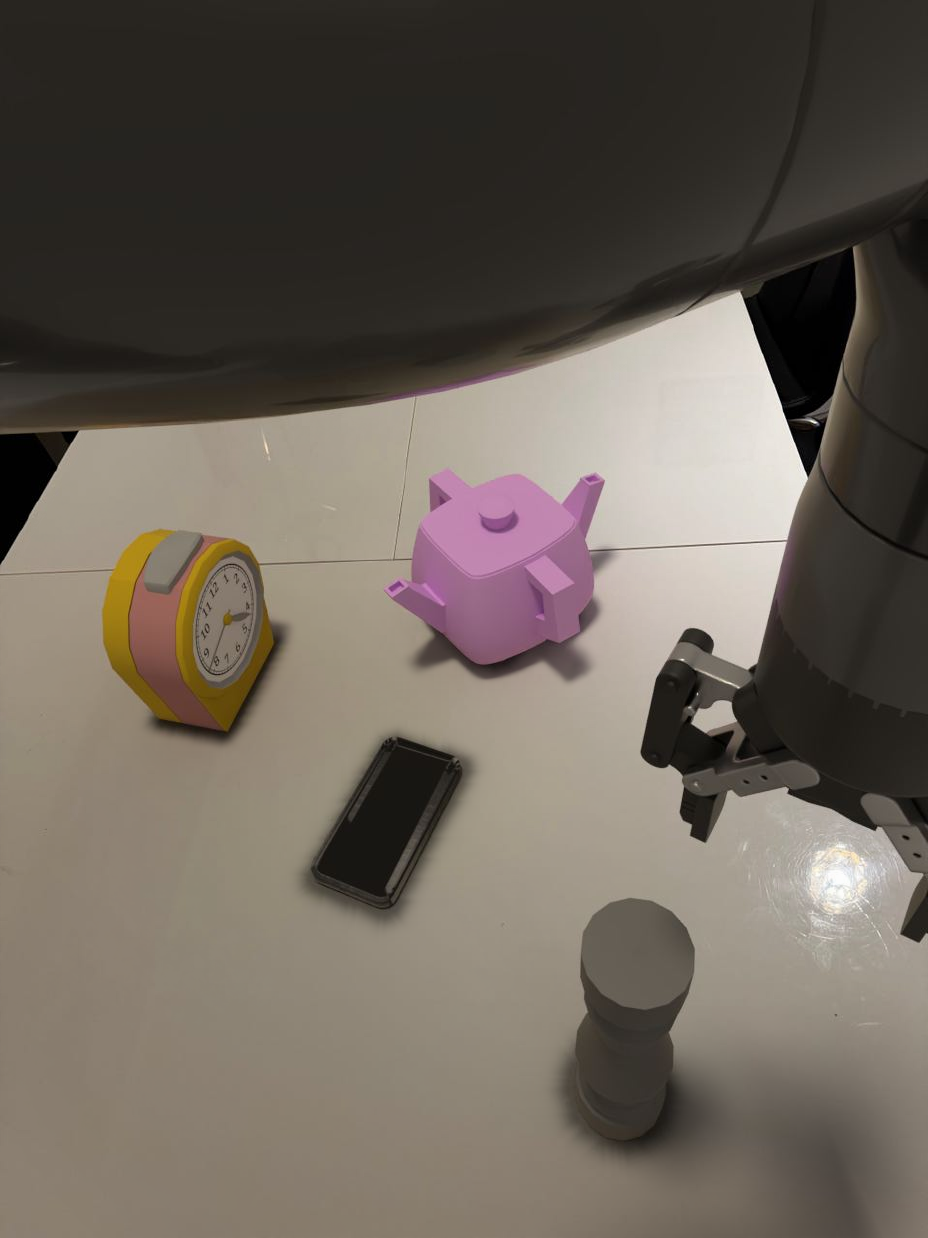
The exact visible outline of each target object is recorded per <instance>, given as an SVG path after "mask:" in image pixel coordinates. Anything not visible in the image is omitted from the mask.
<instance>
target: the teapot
mask: <svg viewBox="0 0 928 1238" xmlns="http://www.w3.org/2000/svg"><path fill="white" fill-rule="evenodd" d="M605 482H606V480H605V479H604V478H603V477H602V476H601V475H600V474H598V473H597V472H593V473H590V474H586V475H584V476H581V477H579V481H578V482H577V483H576V484H575V486H574V488H572V490H571V491H570V492H569V494H568V495H567V497H566V498H565V499H564V500H563V502H562V503H560V502H559V501H557V499H555V498H554V497H553V496H552V495H550V494H549V493H548V492H547V491H546V490H544V489H543V488H542V487H541V486H540V485H538V484H537V483H536V482H534V481H533V480H532V479H530V478H528V477H527V476H526V475H523V474H521V473H511V474H505V475H502V476H499V477H496V478H494V479H491V480H488V481H485V482H483V483H481V484H478V485H476V486H474V487H472V486H470V485H469V484H467V483H466V481H464V480H463V478H462V479H461V478H460V477H459V476H458V474H456V473H455V472H454V471H452V470H451V469H450V468H449V467H447V468H446V469H443V470H441V471H440V472H438V473H436V474H434V475H432V476H430V477H429V478H428V488H429V489H428V491H429V511H430V512H429V513H428V514H427V515H425V516H424V517H423V518H422V519H421V521H420V522H419V524H418V528H417V532H416V536H415V540H414V544H413V549H412V555H411V567H410V570H411V571H410V573H411V574H410V577H411V578H410V579H411V581H410V580H406V579H404V578H403V577H402V576H399V577H397V578H396V579H395V580H393V581H391V582H390V583H389V584H387V585H386V586H384V587H383V591H384V593H386V595H387V596H388V597H390V599H391V600H392V601H393V602H395V603H396V604H398V605H399V606H400V607H402V608H404V609H405V610H407V611H408V612H409V613H412V615H414V616H416V617H417V618H419V619H420V620H422V621H423V622H425V623H426V624H428V625H429V626H431V627H432V628H433V629H435V630H437V631H438V632H440V633H441V634H443V635H444V636H445V637H446V638H447V639H448V641H449V642H451V643H452V644H453V646H455V648H457V649H458V650H459V651H460V652H461V653H462V654H463V655H464V656H465V657H466V658H468V659H469V660H470V661H472V662H473V663H475V664H477V665H490V664H495V663H501V662H504V661H505V660H506V659H507V660H508V659H510V658H513V657H514V656H516V655H519V654H521V653H524V652H526V651H528V650H530V649H532V648H534V647H537V646H538V645H540V644H542V643H543V642H545V641H546V640H549V641H551V642H555V643H557V644H560V643H562V642H564V641H565V640H568V639H569V638H571V637H573V636H575V635H577V634H579V633H580V632H581V627H580V620H579V619H580V617H579V616H580V614H581V613H582V612H583V611H584V609H585V608H586V607H587V606H588V604H589V602H590V601H591V599H592V597H593V594H594V590H595V575H594V567H593V566H594V565H593V561H592V557H591V552H590V549H589V546H588V544H587V541H586V539H587V536H588V533H589V530H590V527H591V524H592V520H593V518H594V515H595V512H596V509H597V506H598V503H599V500H600V497H601V494H602V491H603V489H604V486H605Z"/></svg>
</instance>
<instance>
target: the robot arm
mask: <svg viewBox="0 0 928 1238" xmlns="http://www.w3.org/2000/svg"><path fill="white" fill-rule="evenodd" d="M848 249H852V253H853V264H854V275H855V276H854V277H855V292H856V293H855V311H854V315H853V319H852V322H851V326H850V330H849V333H848V337H847V342H846V346H845V350H844V352H843V357H842V359H841V362H840V367H839V371H838V375H837V379H836V382H835V387H834V390H833V395H832V399H831V403H830V407H829V409H828V410H829V411H828V414H827V419H826V422H825V427H824V431H823V435H822V438H821V443H820V447H819V449H818V453H817V456H816V459H815V461H814V464H813V465H812V469H811V471H810V473H809V475H808V478H807V480H806V482H805V483H804V486H803V488H802V491H801V493H800V495H799V498H798V501H797V502H796V506H795V508H794V513H793V515H792V519H791V522H790V527H789V530H788V535H787V538H786V543H785V547H784V550H783V554H782V560H781V563H780V568H779V571H778V576H777V579H776V583H775V588H774V593H773V596H772V600H771V604H770V609H769V613H768V618H767V622H766V626H765V628H764V629H765V631H764V634H763V637H762V642H761V646H760V650H759V654H758V657H757V662H756V663H755V664H753V665H752V666H750V667H749V668H748V669H747V668H744V667H742V666H740V665H737V664H735V663H733V662H730V661H728V660H725V659H724V658H720V657H718V656H716V655H713V651H714V647H715V642H714V639H713V638H712V636H711V635H710V634H708V632H706V631H704V630H703V629H700V628H696V627H688V628H686V629H685V630H683V632H682V634H681V635H680V637H679V639H678V640H677V642H676V644H675V645H674V647H673V649H672V651H671V652H670V654H669V656H668V657H667V659H666V661H665V662H664V664H663V666H662V668H661V669H660V671H659V673H658V674H657V675H656V678H655V681H654V686H653V690H652V691H653V692H652V694H651V699H650V705H649V709H648V714H647V718H646V723H645V727H644V733H643V737H642V741H641V747H640V751H639V752H640V753H639V754H640V756H641V758H642V759H643V760H644V761H645V762H646V763H647V764H649V765H650V766H652V767H654V768H657V769H666V768H668V767H669V766H670V767H672V768H674V769H675V770H676V771H678V772H679V773H680V775H681V776H682V778H681V783H682V785H683V790H682V795H681V802H680V805H679V806H680V807H679V815H680V817H681V818H680V819H682V821H683V822H685V823H687V824H689V825H691V828H690V832H689V837H691V838H694V839H695V840H697V841H700V842H701V843H704V844H707V842H708V840H709V838H710V836H711V834H712V832H713V830H714V829H715V827H716V824H717V822H718V820H719V817H720V816H721V813H722V811H723V809H724V807H725V803H726V799H727V795H728V792H729V791H732V792H733V793H734V794H735V796H737V797H739V798H743V797H748V796H751V795H757V794H761V793H765V792H770V791H775V790H779V789H783V788H787V789H788V790H787V791H786V794H787V795H789V796H791V797H793V798H796V799H799V800H800V801H803V802H806V803H808V804H812V805H815V806H819V807H823V808H826V809H829V810H832V811H833V812H835V813H838V814H839V815H841V816H843V817H844V818H845V819H847V820H849V821H851V822H852V823H855V824H857V825H859V826H862V827H864V828H866V829H869V830H871V831H873V832H876V831H877V829H878V828H881V829H882V830H883V832H884V834H885V835H886V836H887V839H888V841H890V843H891V844H892V846H893V847H894V849H895V851H896V852H897V854H898V855H899V857H900V859H901V860H902V862H903V863H904V864H905V866H906V868H907V869H908V870H909V872H911V873H916V874H922V876H921V878H920V880H919V881H918V883H917V885H916V886H915V888H914V890H913V892H912V894H911V897H910V900H909V903H908V906H907V909H906V911H905V916H904V919H903V922H902V925H901V928H900V931H899V932H900V933H899V935H901V936H903V937H905V938H907V939H909V940H911V941H913V942H916V943H918V944H920V943H921V941H922V940H923V938H924V937H925V936H926V934H927V935H928V0H0V435H10V434H12V435H14V434H32V433H33V434H34V433H35V434H37V433H57V432H59V433H60V432H76V431H77V432H79V431H94V430H113V429H132V428H133V429H135V428H149V427H166V426H167V427H168V426H169V427H170V426H185V425H205V424H216V423H217V424H218V423H227V422H237V421H239V422H240V421H248V420H259V419H260V420H261V419H269V418H279V417H287V416H295V415H300V414H303V415H304V414H309V413H316V412H318V413H319V412H324V411H325V412H326V411H331V410H339V409H346V408H355V407H363V406H370V405H375V404H381V403H386V402H388V403H389V402H392V401H398V400H403V399H410V398H415V397H421V396H427V395H432V394H438V393H443V392H447V391H451V390H452V391H453V390H457V389H459V388H465V387H468V386H472V385H476V384H480V383H485V382H488V381H493V380H497V379H501V378H506V377H510V376H513V375H517V374H521V373H524V372H527V371H531V370H534V369H536V368H539V367H543V366H546V365H549V364H552V363H556V362H559V361H561V360H566V359H568V358H571V357H574V356H577V355H580V354H583V353H587V352H590V351H592V350H595V349H597V348H600V347H602V346H605V345H608V344H611V343H613V342H616V341H618V340H620V339H623V338H625V337H626V338H627V337H628V336H632V335H634V334H636V333H638V332H641V331H645V330H646V329H649V328H652V327H654V326H656V325H658V324H661V323H663V322H666V321H668V320H670V319H673V318H676V317H679V316H682V315H684V314H687V313H689V312H691V311H694V310H697V309H699V308H702V307H705V306H707V305H710V304H712V303H714V302H717V301H720V300H722V299H725V298H728V297H730V296H732V295H735V294H737V293H740V292H743V291H745V290H748V289H751V288H752V287H755V286H757V285H760V284H763V283H766V282H768V281H770V280H773V279H775V278H778V277H781V276H782V275H786V274H788V273H791V272H792V271H795V270H798V269H801V268H804V267H806V266H808V265H811V264H813V263H815V262H818V261H821V260H823V259H827V258H829V257H831V256H833V255H836V254H839V253H841V252H843V251H845V250H848ZM718 701H725V702H729V703H731V710H732V714H733V716H734V718H735V720H736V721H735V722H731V723H729V724H725V725H722V726H719V727H716V728H713V729H709V730H708V731H706V732H705V731H703V730H702V729H700V728H699V727H697V726H695V725H694V724H692V723H693V722H694V718H695V716H696V715H697V713H698V711H699V710H700V709H701V710H708V709H710V708H712V706H713V705H714V703H716V702H718Z"/></svg>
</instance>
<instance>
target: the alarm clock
mask: <svg viewBox="0 0 928 1238" xmlns="http://www.w3.org/2000/svg"><path fill="white" fill-rule="evenodd" d="M101 613H102V615H101V616H102V618H101V619H102V644H103V647H104V648H105V652H106V655H107V658H108V661H109V664H110V666H111V669H112V670H113V672H115V673H116V674H117V676H118V677H119V678H120V679H121V680H122V681H123V682H124V683H125V684H126V685H127V686H128V687H129V688H130V690H132V691H133V692H134V694H135V695H136V696H137V697H138V698H139V699H140V700H141V701H142V702H143V703H144V704H145V705H146V707H147V708H148V709H149V710H151V712H152V713H153V714H154V715H155V716H156V717H157V718H158V719H160V720H164V721H165V720H166V721H170V722H174V723H181V724H186V725H191V726H195V727H196V726H197V727H201V728H206V729H211V730H217V731H222V732H229V730H230V728H231V726H232V724H233V723H234V720H235V718H236V716H237V714H238V713H239V711H240V709H241V707H242V705H243V703H244V701H245V700H246V697H247V696H248V693H249V692H250V690H251V688H252V686H253V684H254V682H255V681H256V679H257V677H258V675H259V673H260V671H261V669H262V667H263V666H264V664H265V662H266V660H267V658H268V656H269V655H270V652H271V650H272V648H273V646H274V645H275V640H274V636H273V632H272V626H271V621H270V618H269V614H268V608H267V604H266V600H265V587H264V582H263V576H262V572H261V567H260V563H259V562H258V560H257V558H256V556H255V554H254V553H253V551H252V549H251V548H250V546H249V545H247V544H245V543H243V542H241V541H239V540H237V539H235V538H229V537H223V536H215V535H209V534H202V533H201V532H196V531H187V530H181V529H178V530H172V529H164V528H163V529H162V528H159V529H154V530H150V531H146V532H143V533H140V534H139V535H138V536H137V537H136V538H135V539H134V540H133V541H132V542H131V543H130V544H129V545H127V547H126V548H125V549H124V550H123V551H122V553H121V554H120V557H119V559H118V561H117V563H116V565H115V567H114V568H113V571H112V572H111V575H110V576H109V579H108V582H107V587H106V592H105V596H104V601H103V605H102V610H101Z"/></svg>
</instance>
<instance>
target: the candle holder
mask: <svg viewBox="0 0 928 1238" xmlns="http://www.w3.org/2000/svg"><path fill="white" fill-rule="evenodd" d="M580 947H581V948H580V964H579V967H580V968H579V972H580V973H579V978H580V981H581V982H580V983H581V984H582V985H581V986H582V988H583V993H584V994H583V1000H584V1004H585V1007H586V1011H587V1012H586V1013H585V1015H584V1016H583V1018H582V1020H581V1023H580V1024H579V1026H578V1028H577V1030H576V1038H575V1047H574V1054H575V1057H576V1058H575V1059H576V1061H575V1068H574V1069H575V1070H574V1079H573V1094H574V1098H575V1101H576V1105H577V1109H578V1112H579V1114H580V1115H581V1117H582V1118H583V1119H584V1121H585V1122H586V1124H587V1125H588V1126H589V1128H591V1129H592V1130H593V1131H595V1132H597V1133H598V1134H599V1135H601V1136H602V1137H604V1138H605V1139H611V1140H616V1141H620V1142H626V1141H630V1140H634V1139H638V1138H641V1137H643V1136H644V1135H645V1134H646V1133H647V1132H648V1131H650V1130H651V1129H652V1128H653V1127H654V1126H655V1125H656V1122H657V1121H658V1118H659V1116H660V1114H661V1112H662V1109H663V1107H664V1104H665V1100H666V1096H667V1095H666V1094H667V1093H666V1092H667V1082H668V1079H669V1078H670V1075H671V1073H672V1071H673V1067H674V1049H675V1046H674V1043H673V1040H672V1037H671V1034H670V1032H671V1030H672V1028H673V1026H674V1024H675V1022H676V1020H677V1018H678V1015H679V1014H680V1012H681V1010H682V1008H683V1006H684V1004H685V1002H686V999H687V998H688V996H689V993H690V989H691V985H692V982H693V978H694V974H695V963H696V960H695V959H696V958H695V956H696V950H695V949H696V947H695V946H694V943H693V941H692V937H691V935H690V932H689V930H688V928H687V926H685V924H684V923H683V922H682V920H680V919H679V918H678V916H677V915H675V914H674V912H673V911H672V910H670V909H669V908H667V907H666V906H665V907H664V906H663V905H661V904H659V903H657V902H655V901H653V900H650V899H643V898H635V897H627V898H623V899H618V900H615V901H610V902H608V903H607V904H605V905H604V906H603V907H602V908H600V909H599V910H597V911H596V912H595V913H593V914H592V916H591V918H590V920H589V921H588V923H587V925H586V927H585V928H584V930H583V932H582V938H581V946H580Z"/></svg>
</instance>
